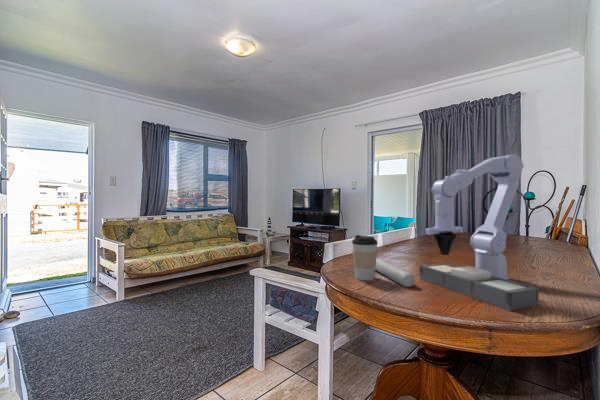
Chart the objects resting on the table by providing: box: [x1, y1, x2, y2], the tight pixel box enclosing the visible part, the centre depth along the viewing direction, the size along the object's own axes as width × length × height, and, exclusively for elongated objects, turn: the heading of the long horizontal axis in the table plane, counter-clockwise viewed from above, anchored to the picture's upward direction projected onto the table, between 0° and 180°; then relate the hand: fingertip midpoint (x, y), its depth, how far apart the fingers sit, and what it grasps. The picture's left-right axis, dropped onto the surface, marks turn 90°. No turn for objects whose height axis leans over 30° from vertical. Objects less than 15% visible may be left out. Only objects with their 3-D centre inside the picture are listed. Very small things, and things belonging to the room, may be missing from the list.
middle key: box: [451, 265, 491, 281], centre depth 89 cm, size 8×8×2 cm
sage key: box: [480, 280, 527, 291], centre depth 80 cm, size 8×8×2 cm
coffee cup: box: [351, 234, 378, 281], centre depth 103 cm, size 9×9×15 cm
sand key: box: [429, 265, 454, 272], centre depth 98 cm, size 8×8×2 cm
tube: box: [375, 256, 416, 288], centre depth 103 cm, size 5×5×25 cm
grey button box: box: [419, 262, 539, 312], centre depth 89 cm, size 11×31×5 cm, turn 19°
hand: (444, 254), depth 98 cm, fingers closed
